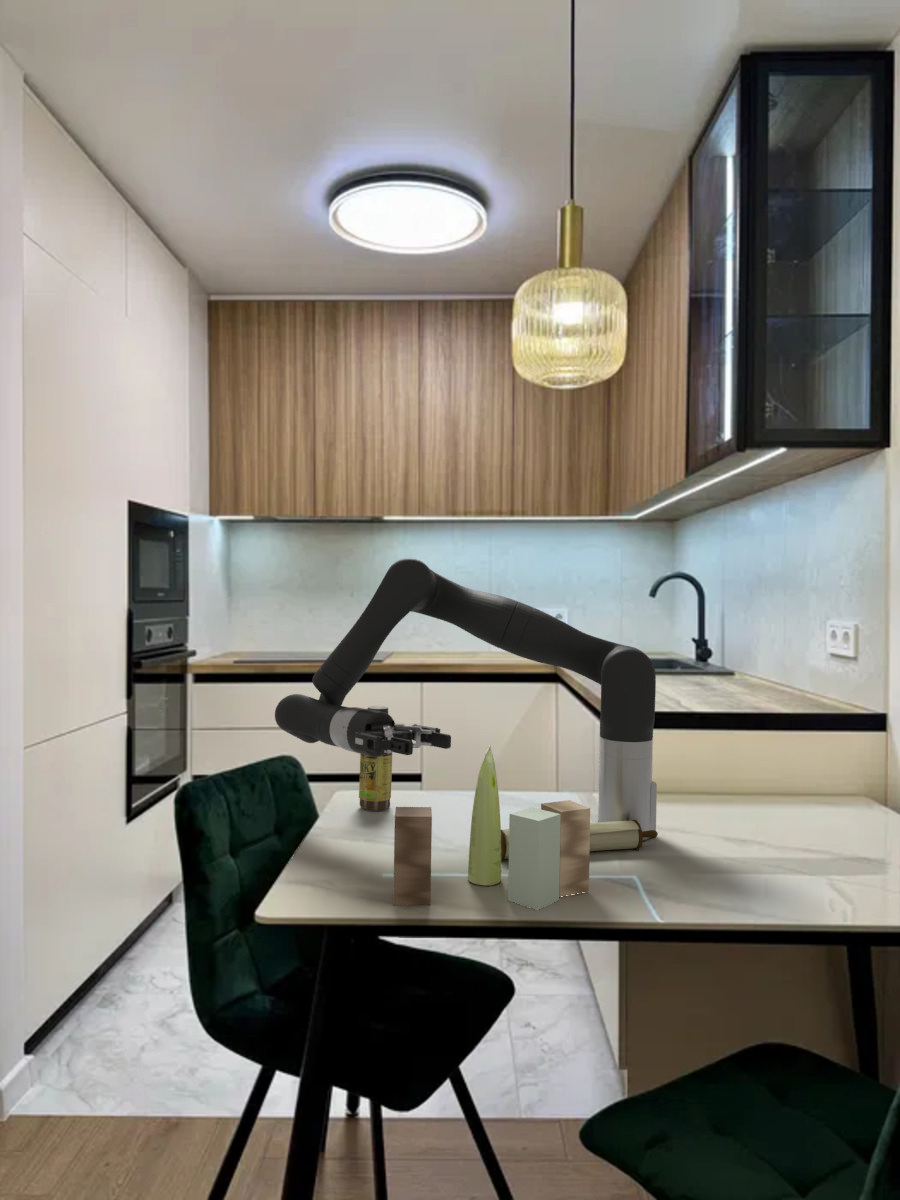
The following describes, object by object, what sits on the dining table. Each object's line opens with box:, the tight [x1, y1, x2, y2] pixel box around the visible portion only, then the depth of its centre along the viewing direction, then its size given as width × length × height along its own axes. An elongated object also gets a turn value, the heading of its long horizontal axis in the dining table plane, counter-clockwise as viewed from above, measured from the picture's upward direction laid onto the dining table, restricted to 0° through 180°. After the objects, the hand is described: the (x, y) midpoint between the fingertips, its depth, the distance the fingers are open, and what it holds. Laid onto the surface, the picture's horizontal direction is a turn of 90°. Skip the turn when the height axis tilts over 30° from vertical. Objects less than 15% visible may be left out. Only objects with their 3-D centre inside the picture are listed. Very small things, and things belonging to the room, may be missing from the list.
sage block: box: [507, 806, 561, 911], centre depth 113 cm, size 5×5×12 cm
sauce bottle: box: [358, 705, 393, 812], centre depth 160 cm, size 6×6×20 cm
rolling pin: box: [501, 820, 658, 862], centre depth 134 cm, size 32×6×5 cm, turn 106°
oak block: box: [540, 799, 591, 897], centre depth 117 cm, size 5×5×12 cm
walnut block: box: [392, 806, 433, 906], centre depth 113 cm, size 5×5×12 cm
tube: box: [467, 744, 502, 887], centre depth 120 cm, size 6×5×20 cm
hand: (430, 745), depth 128 cm, fingers open, 8 cm apart
